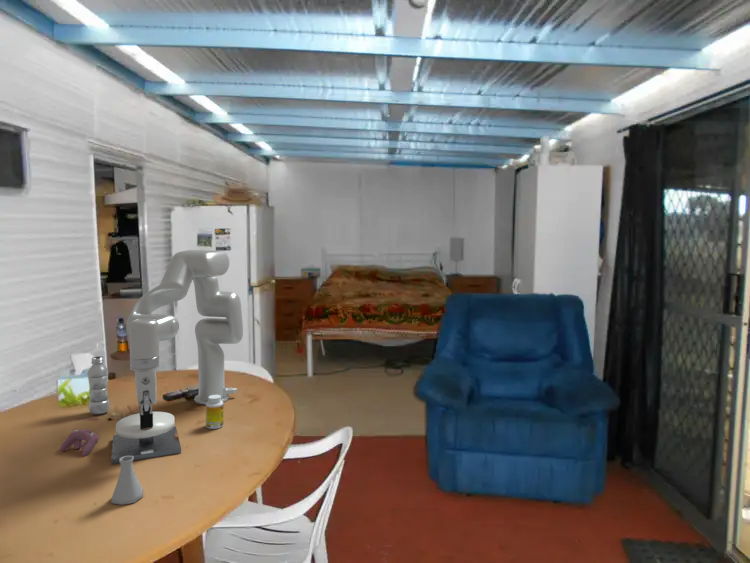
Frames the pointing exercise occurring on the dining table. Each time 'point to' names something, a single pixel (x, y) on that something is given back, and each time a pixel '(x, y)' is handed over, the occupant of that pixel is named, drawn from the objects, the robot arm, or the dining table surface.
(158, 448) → the mount
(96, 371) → the plastic bottle
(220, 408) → the supplement bottle
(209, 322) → the robot arm
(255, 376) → the dining table surface
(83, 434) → the video game controller
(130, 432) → the white piece
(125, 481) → the flask
